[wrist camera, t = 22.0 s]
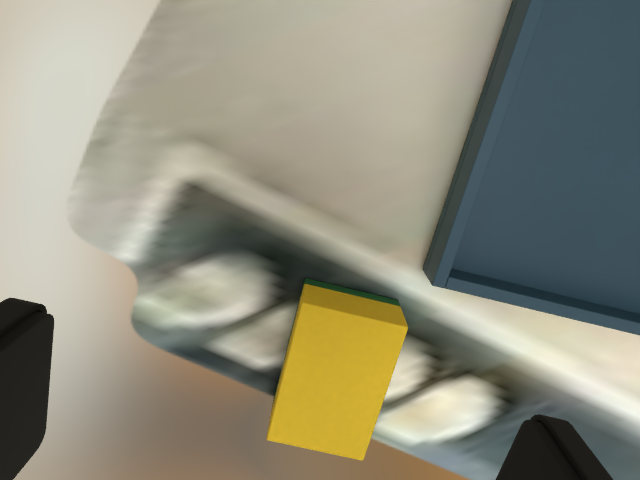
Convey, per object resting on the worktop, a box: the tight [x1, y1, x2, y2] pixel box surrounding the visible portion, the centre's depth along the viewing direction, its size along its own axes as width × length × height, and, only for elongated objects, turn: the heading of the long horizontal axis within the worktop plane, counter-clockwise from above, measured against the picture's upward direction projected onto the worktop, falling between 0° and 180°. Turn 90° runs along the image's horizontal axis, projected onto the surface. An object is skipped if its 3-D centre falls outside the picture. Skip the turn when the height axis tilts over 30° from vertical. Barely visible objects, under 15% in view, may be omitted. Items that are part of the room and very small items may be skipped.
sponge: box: [267, 278, 408, 460], centre depth 29 cm, size 10×6×4 cm, turn 166°
